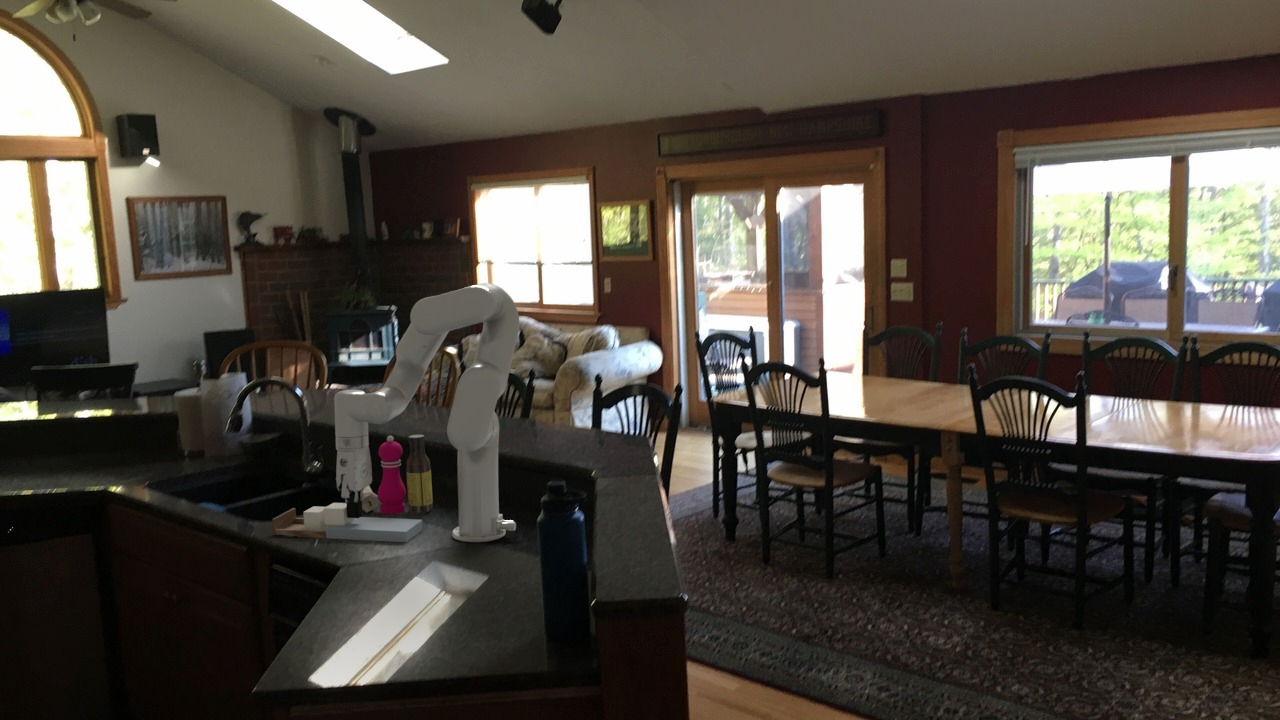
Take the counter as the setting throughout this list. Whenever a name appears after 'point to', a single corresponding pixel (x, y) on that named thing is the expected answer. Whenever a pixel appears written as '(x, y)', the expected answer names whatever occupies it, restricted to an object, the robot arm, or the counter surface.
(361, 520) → the slate bench
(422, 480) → the sauce bottle
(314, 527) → the cream square block
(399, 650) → the counter surface
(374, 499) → the cream faceted tapered piece
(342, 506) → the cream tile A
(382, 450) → the pepper mill
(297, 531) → the walnut box
